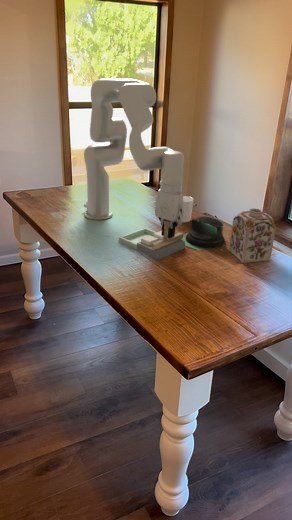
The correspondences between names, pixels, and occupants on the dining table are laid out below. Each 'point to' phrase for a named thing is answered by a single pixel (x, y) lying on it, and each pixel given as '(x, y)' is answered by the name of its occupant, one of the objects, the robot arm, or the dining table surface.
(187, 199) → the white cup
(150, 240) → the tile
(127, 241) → the tray
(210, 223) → the dark round cap
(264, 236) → the decorative jar
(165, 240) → the tan bar
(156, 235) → the tile
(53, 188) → the dining table surface
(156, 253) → the board
